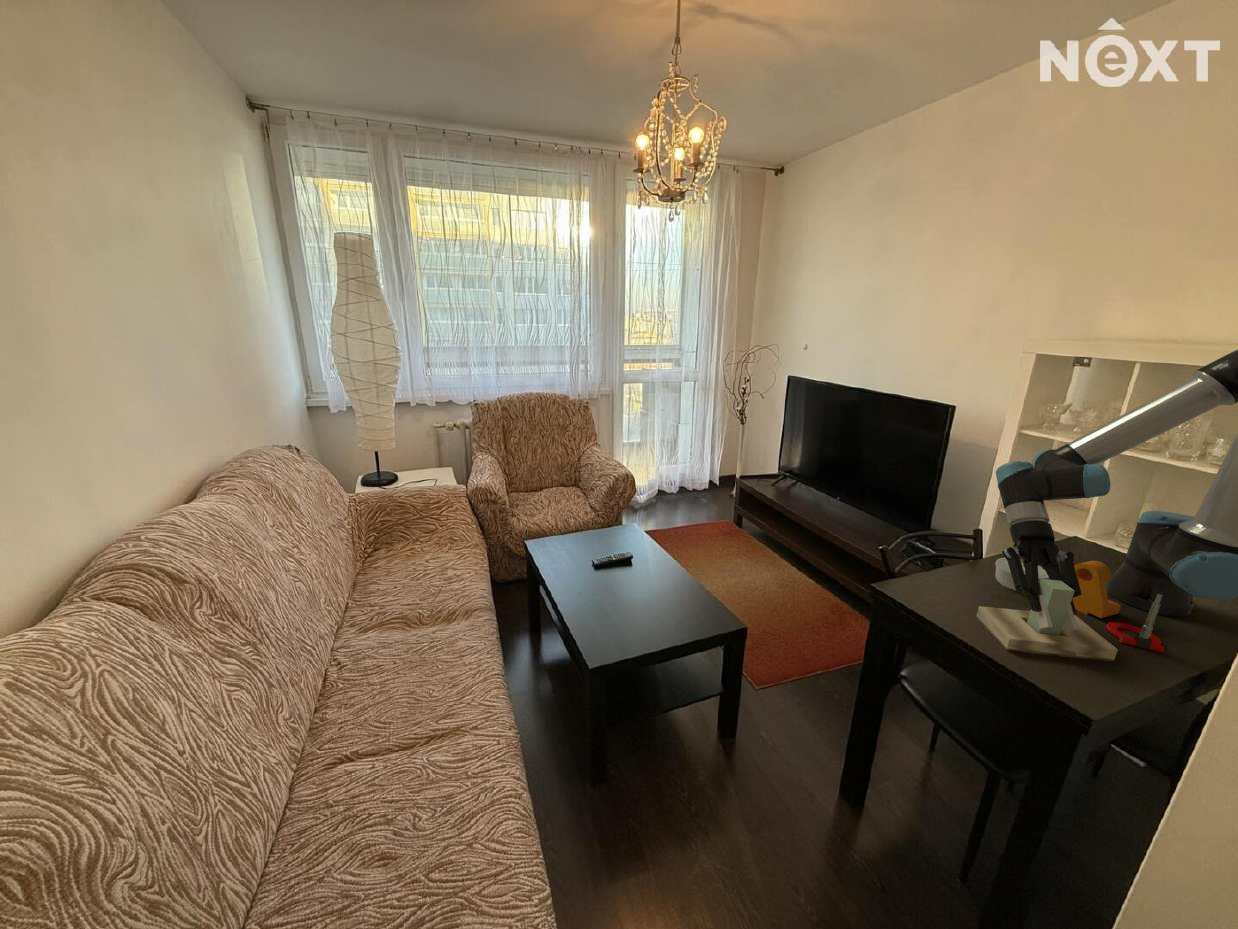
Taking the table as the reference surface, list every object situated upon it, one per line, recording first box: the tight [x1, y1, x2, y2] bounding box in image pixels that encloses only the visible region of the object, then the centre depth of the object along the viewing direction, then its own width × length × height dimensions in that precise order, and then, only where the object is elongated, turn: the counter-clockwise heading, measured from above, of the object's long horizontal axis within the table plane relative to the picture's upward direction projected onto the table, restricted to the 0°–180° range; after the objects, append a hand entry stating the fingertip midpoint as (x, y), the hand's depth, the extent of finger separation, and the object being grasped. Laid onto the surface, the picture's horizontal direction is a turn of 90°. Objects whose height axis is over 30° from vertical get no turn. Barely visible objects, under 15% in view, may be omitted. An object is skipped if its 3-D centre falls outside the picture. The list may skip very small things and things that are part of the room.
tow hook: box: [1106, 593, 1165, 654], centre depth 105 cm, size 8×13×9 cm
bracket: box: [1073, 560, 1122, 619], centre depth 117 cm, size 11×7×12 cm, turn 18°
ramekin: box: [994, 557, 1050, 592], centre depth 127 cm, size 11×11×5 cm
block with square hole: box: [975, 605, 1119, 663], centre depth 106 cm, size 20×12×3 cm, turn 81°
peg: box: [1027, 579, 1074, 636], centre depth 104 cm, size 4×4×12 cm
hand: (1058, 628), depth 101 cm, fingers closed on peg, 4 cm apart
